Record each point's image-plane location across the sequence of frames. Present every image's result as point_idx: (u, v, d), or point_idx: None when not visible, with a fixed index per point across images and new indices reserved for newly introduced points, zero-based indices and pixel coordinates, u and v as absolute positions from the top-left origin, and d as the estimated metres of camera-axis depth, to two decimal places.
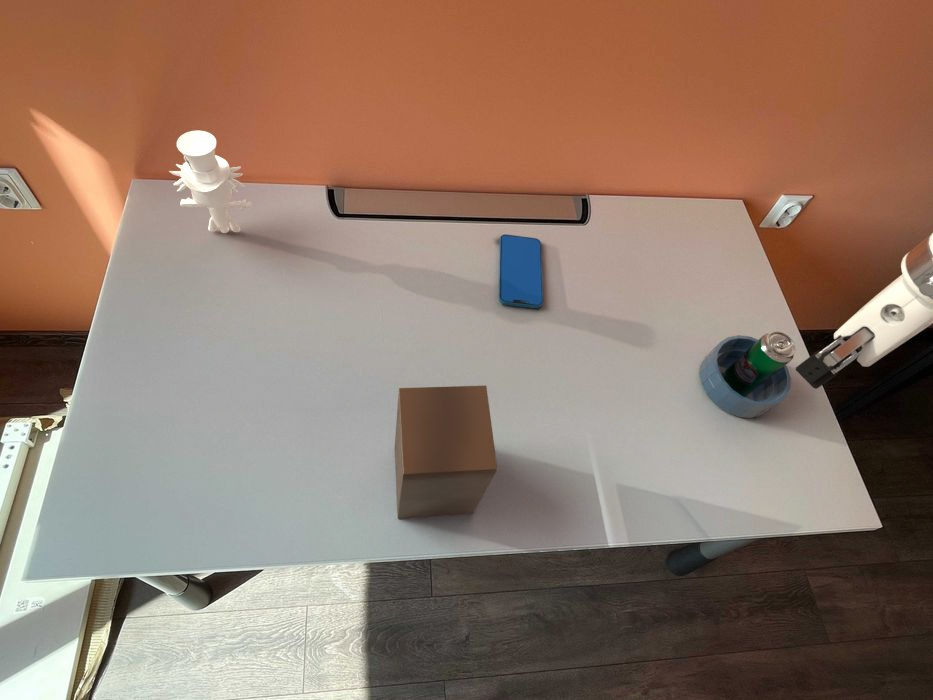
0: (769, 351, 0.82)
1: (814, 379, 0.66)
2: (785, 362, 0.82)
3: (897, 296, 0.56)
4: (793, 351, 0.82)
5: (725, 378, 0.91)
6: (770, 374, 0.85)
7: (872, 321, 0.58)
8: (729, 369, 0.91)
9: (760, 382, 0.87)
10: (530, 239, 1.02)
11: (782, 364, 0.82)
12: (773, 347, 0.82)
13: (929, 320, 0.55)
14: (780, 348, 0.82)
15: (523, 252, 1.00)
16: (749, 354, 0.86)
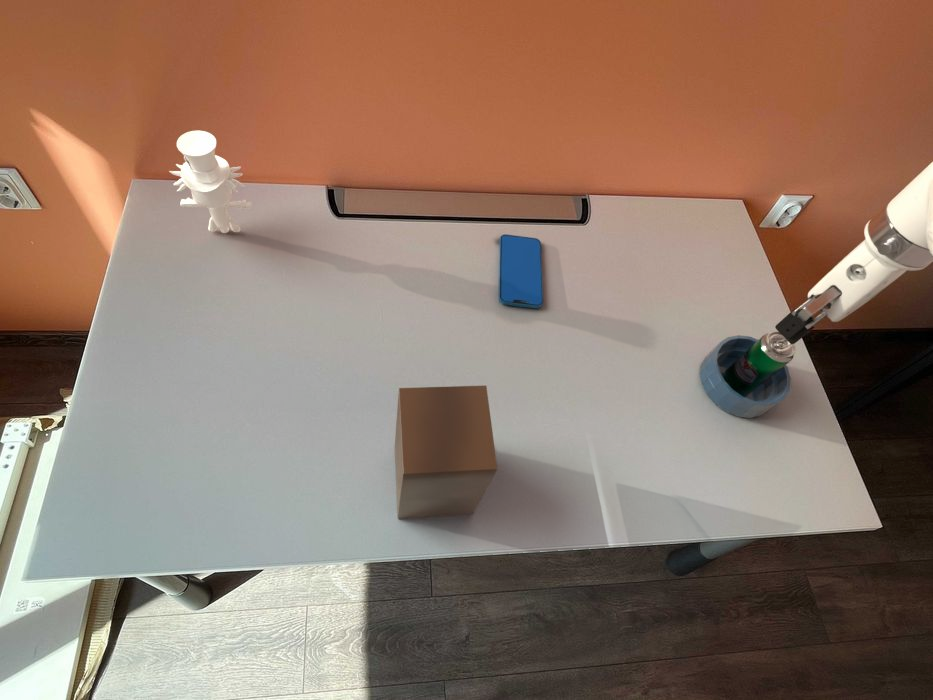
0: (769, 351, 0.82)
1: (791, 335, 0.74)
2: (785, 362, 0.82)
3: (860, 257, 0.64)
4: (793, 351, 0.82)
5: (725, 378, 0.91)
6: (770, 374, 0.85)
7: (839, 280, 0.66)
8: (729, 369, 0.91)
9: (760, 382, 0.87)
10: (530, 239, 1.02)
11: (782, 364, 0.82)
12: (773, 347, 0.82)
13: (887, 277, 0.63)
14: (780, 348, 0.82)
15: (523, 252, 1.00)
16: (749, 354, 0.86)
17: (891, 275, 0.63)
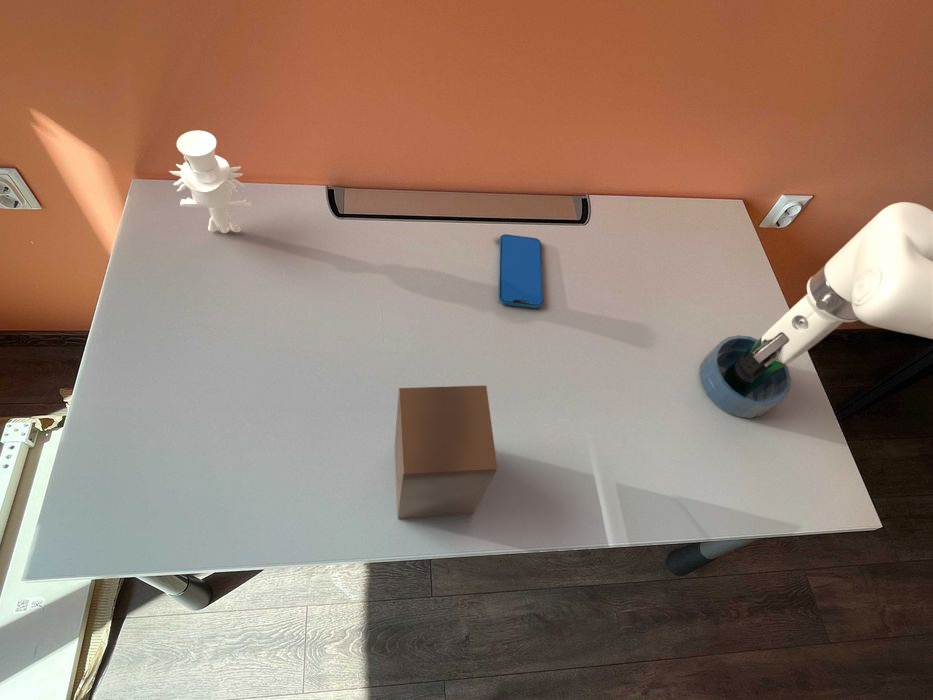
0: None
1: (752, 371, 0.84)
2: None
3: (803, 309, 0.72)
4: None
5: (725, 378, 0.91)
6: (770, 374, 0.85)
7: (786, 328, 0.75)
8: (729, 369, 0.91)
9: (760, 382, 0.87)
10: (530, 239, 1.02)
11: (782, 364, 0.82)
12: None
13: (826, 328, 0.71)
14: None
15: (523, 252, 1.00)
16: None
17: (829, 326, 0.71)
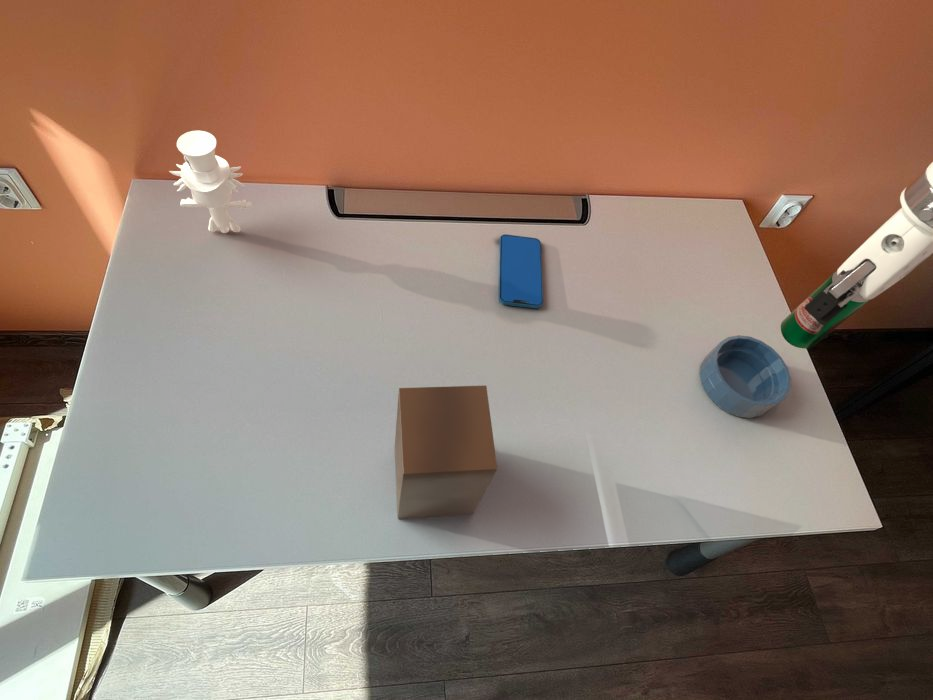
0: None
1: (822, 315, 0.71)
2: (862, 302, 0.69)
3: (897, 226, 0.59)
4: None
5: (783, 329, 0.78)
6: (841, 319, 0.72)
7: (873, 253, 0.62)
8: (788, 318, 0.78)
9: (828, 330, 0.74)
10: (530, 239, 1.02)
11: (858, 305, 0.69)
12: None
13: (927, 247, 0.58)
14: None
15: (523, 252, 1.00)
16: None
17: (931, 245, 0.58)
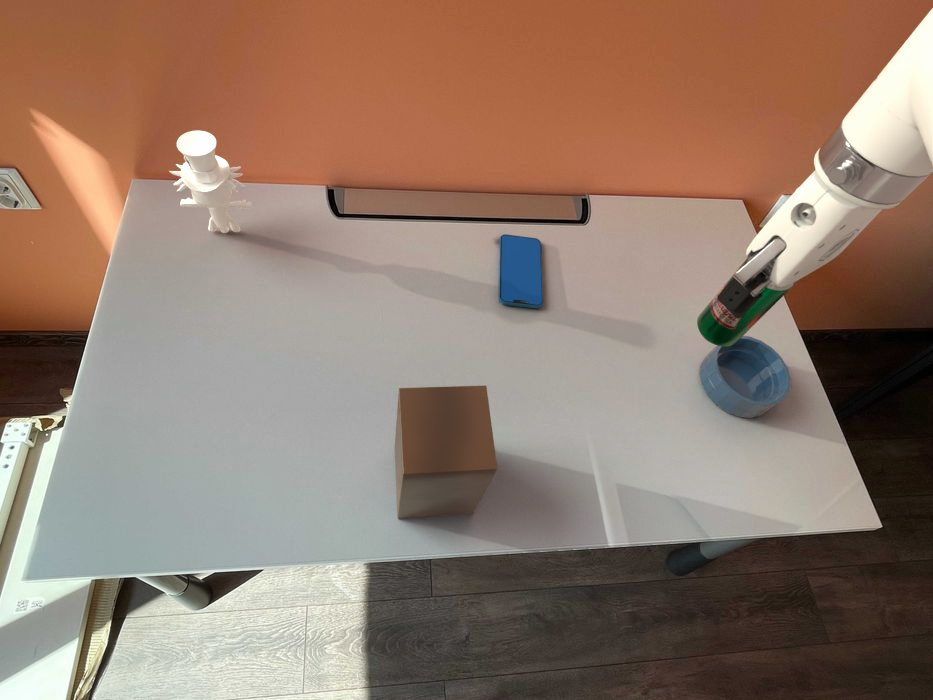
0: None
1: (735, 306, 0.58)
2: (782, 290, 0.57)
3: (807, 192, 0.47)
4: None
5: (699, 323, 0.66)
6: (760, 311, 0.59)
7: (783, 227, 0.49)
8: (705, 310, 0.65)
9: (747, 325, 0.62)
10: (530, 239, 1.02)
11: (777, 294, 0.57)
12: None
13: (843, 219, 0.46)
14: None
15: (523, 252, 1.00)
16: None
17: (849, 216, 0.45)
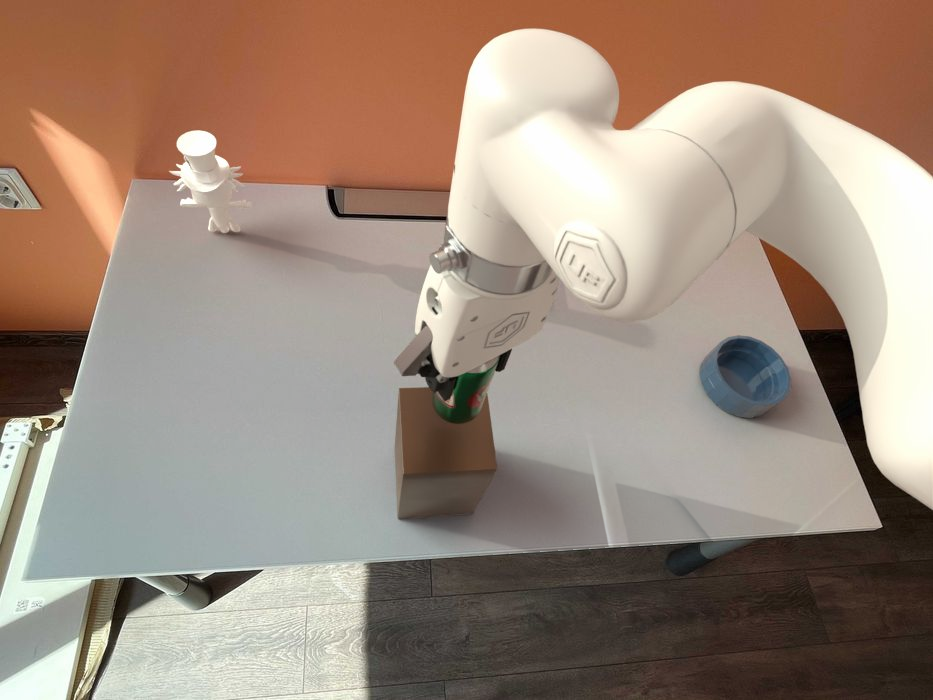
0: None
1: (434, 389, 0.50)
2: (478, 373, 0.48)
3: (432, 276, 0.38)
4: None
5: (432, 397, 0.57)
6: (470, 392, 0.51)
7: (425, 313, 0.40)
8: None
9: (467, 405, 0.53)
10: None
11: (475, 376, 0.48)
12: None
13: (466, 311, 0.37)
14: None
15: None
16: None
17: (472, 307, 0.37)
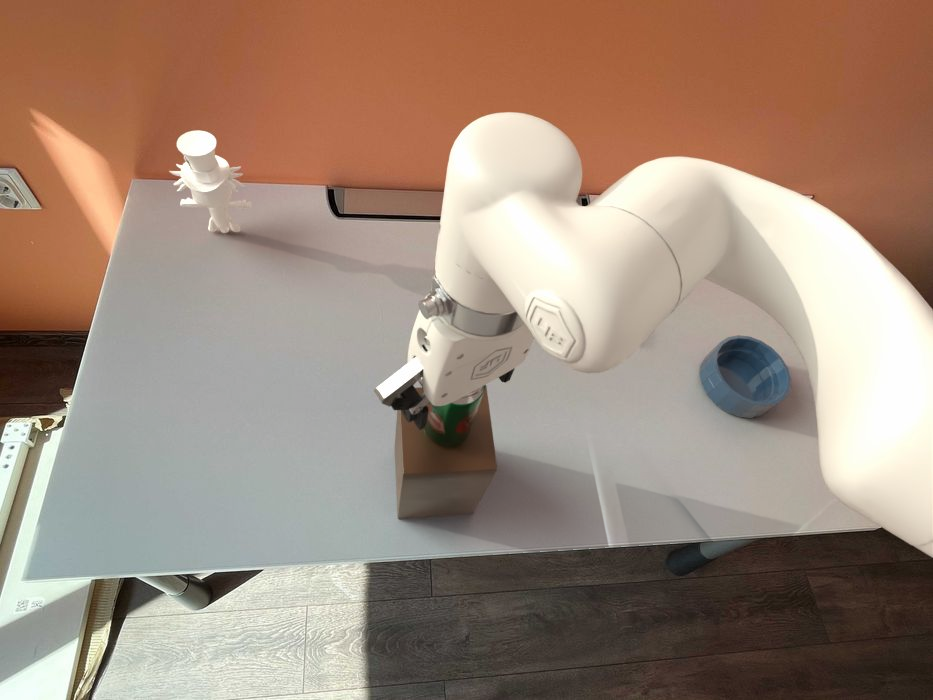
0: None
1: (408, 419, 0.52)
2: (465, 404, 0.53)
3: (421, 318, 0.42)
4: None
5: None
6: (458, 420, 0.55)
7: (416, 349, 0.44)
8: None
9: (455, 431, 0.58)
10: None
11: (462, 407, 0.53)
12: None
13: (452, 350, 0.41)
14: None
15: None
16: None
17: (457, 347, 0.41)
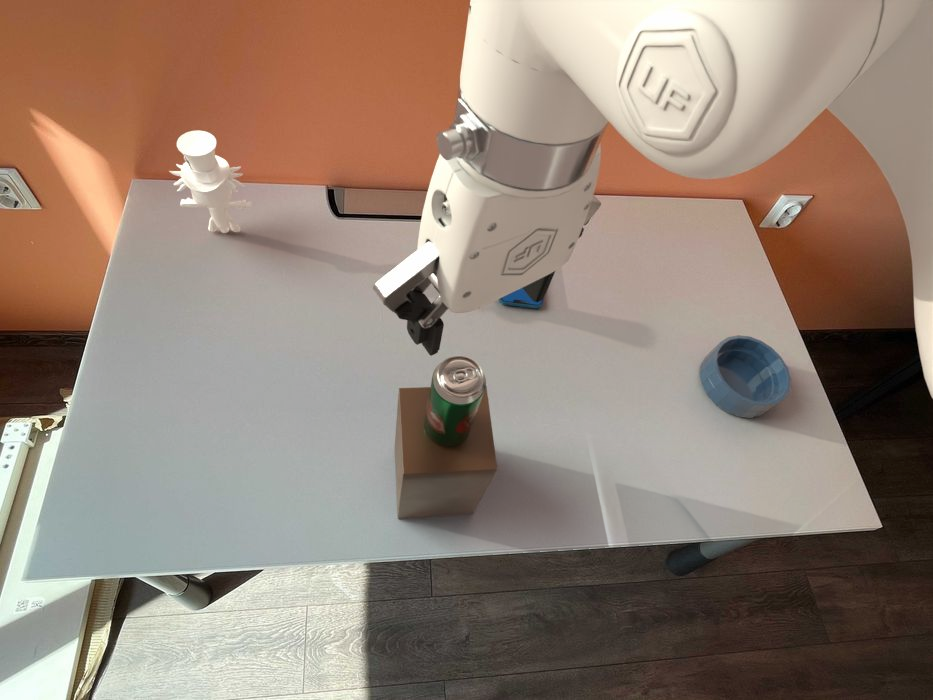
0: (439, 386, 0.52)
1: (417, 339, 0.40)
2: (465, 404, 0.53)
3: (439, 173, 0.30)
4: (478, 387, 0.53)
5: (424, 421, 0.62)
6: (458, 420, 0.55)
7: (430, 227, 0.33)
8: None
9: (455, 431, 0.58)
10: None
11: (462, 407, 0.53)
12: (446, 381, 0.53)
13: (482, 214, 0.29)
14: (457, 382, 0.53)
15: None
16: None
17: (490, 209, 0.29)
